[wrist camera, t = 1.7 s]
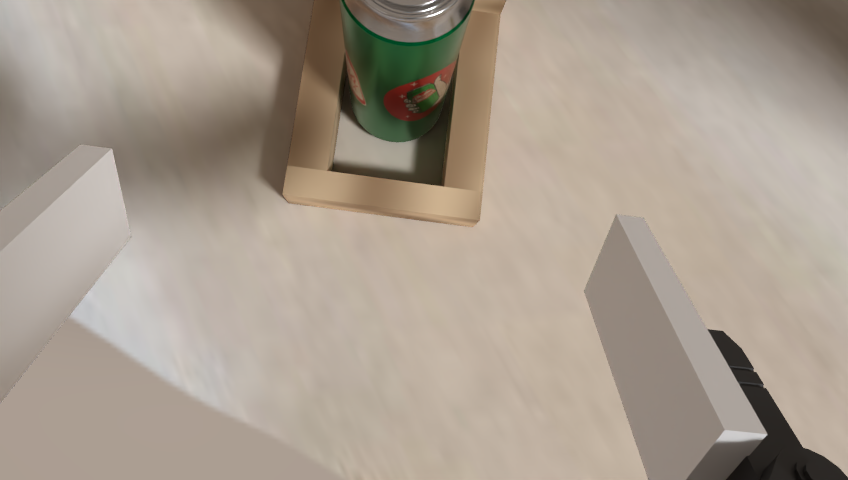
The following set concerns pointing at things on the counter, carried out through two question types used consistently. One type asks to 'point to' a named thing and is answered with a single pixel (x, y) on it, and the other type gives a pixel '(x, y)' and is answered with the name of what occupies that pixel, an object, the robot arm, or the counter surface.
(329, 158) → the oak frame
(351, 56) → the soda can
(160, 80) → the counter surface
